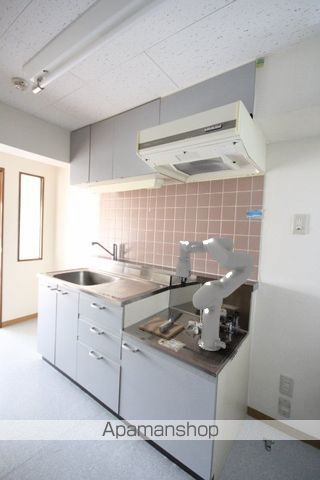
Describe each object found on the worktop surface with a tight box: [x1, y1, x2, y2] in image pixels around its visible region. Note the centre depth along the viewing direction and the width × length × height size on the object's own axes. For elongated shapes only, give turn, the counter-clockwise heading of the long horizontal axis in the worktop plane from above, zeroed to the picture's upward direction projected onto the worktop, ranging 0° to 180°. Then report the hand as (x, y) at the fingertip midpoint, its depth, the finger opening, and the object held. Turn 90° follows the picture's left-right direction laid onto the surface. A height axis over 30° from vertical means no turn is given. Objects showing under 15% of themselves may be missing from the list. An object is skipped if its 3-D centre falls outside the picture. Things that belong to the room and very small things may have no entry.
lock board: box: [138, 316, 185, 340], centre depth 144 cm, size 22×20×2 cm
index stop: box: [160, 325, 168, 333], centre depth 137 cm, size 2×5×4 cm, turn 145°
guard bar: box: [159, 317, 175, 330], centre depth 143 cm, size 15×3×3 cm, turn 146°
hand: (183, 286), depth 146 cm, fingers closed
